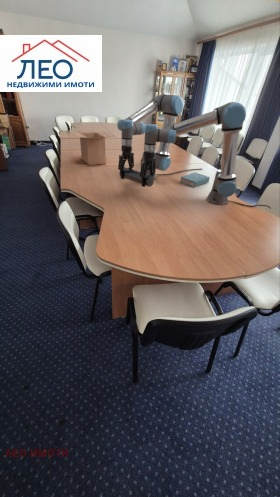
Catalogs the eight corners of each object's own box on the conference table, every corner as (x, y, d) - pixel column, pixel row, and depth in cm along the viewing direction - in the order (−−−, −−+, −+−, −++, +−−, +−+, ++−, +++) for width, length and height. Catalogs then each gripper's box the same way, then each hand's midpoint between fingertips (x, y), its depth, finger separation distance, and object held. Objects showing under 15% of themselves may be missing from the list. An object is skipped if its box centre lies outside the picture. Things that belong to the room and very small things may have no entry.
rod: (119, 178, 167) (119, 167, 163) (126, 176, 172) (126, 165, 168) (147, 188, 154) (147, 177, 150) (153, 185, 160) (154, 174, 155)
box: (116, 165, 229) (116, 136, 213) (83, 168, 214) (80, 137, 198) (102, 154, 259) (101, 128, 243) (71, 156, 244) (68, 129, 228)
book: (194, 177, 213) (195, 172, 210) (208, 182, 204) (209, 177, 201) (179, 182, 200) (180, 176, 197) (194, 187, 191) (195, 182, 188)
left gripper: (120, 148, 146) (120, 182, 159) (140, 144, 159) (138, 175, 173) (112, 146, 150) (112, 179, 163) (132, 142, 163) (131, 173, 176)
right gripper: (144, 154, 136) (141, 190, 150) (163, 150, 150) (159, 182, 163) (135, 152, 140) (133, 187, 153) (154, 147, 153) (151, 180, 167)
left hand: (126, 177), depth 168 cm, fingers closed on rod, 8 cm apart
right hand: (146, 184), depth 158 cm, fingers closed on rod, 8 cm apart
